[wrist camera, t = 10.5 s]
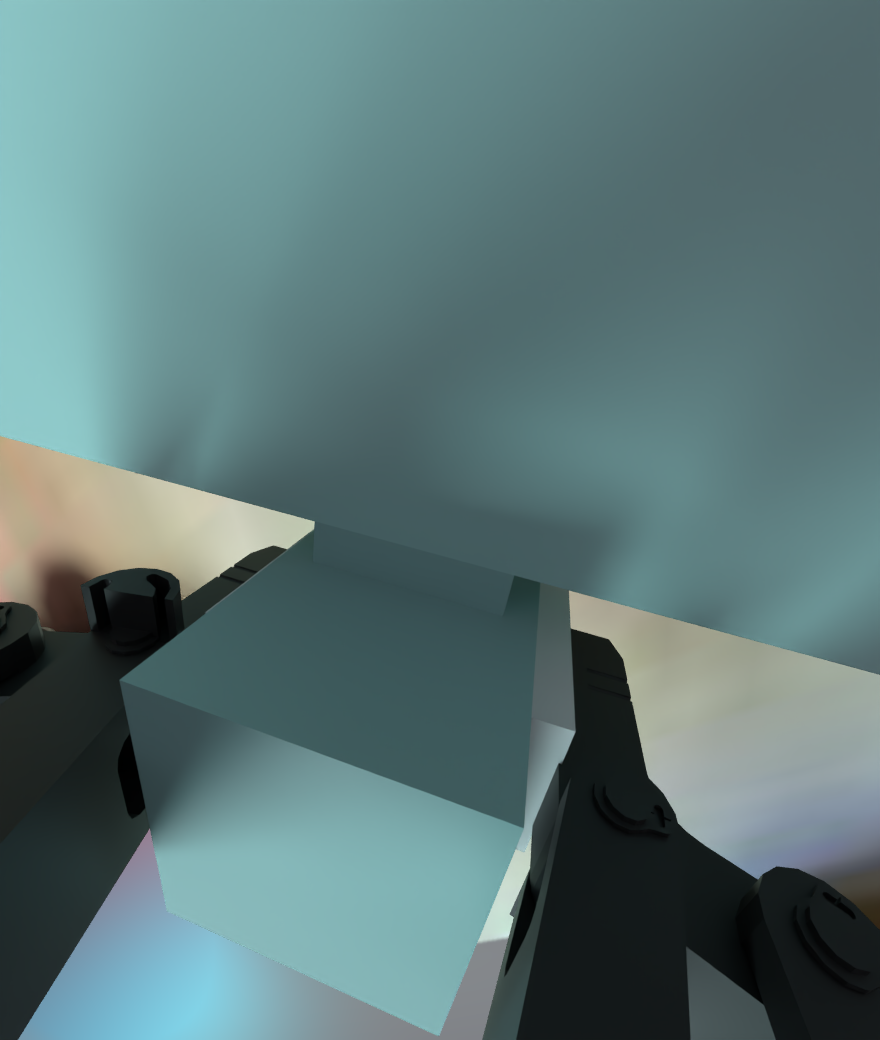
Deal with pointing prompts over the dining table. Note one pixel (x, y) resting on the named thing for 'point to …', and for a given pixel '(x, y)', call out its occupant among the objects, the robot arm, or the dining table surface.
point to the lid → (441, 395)
